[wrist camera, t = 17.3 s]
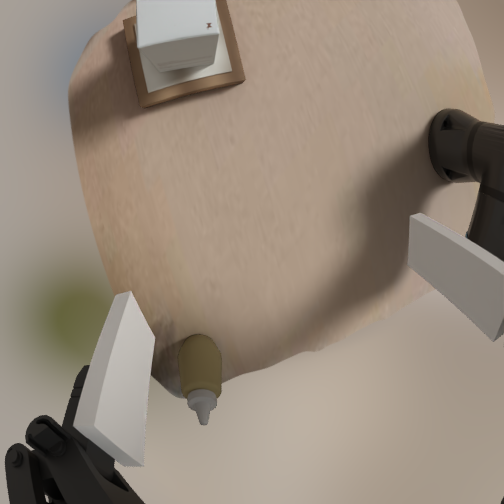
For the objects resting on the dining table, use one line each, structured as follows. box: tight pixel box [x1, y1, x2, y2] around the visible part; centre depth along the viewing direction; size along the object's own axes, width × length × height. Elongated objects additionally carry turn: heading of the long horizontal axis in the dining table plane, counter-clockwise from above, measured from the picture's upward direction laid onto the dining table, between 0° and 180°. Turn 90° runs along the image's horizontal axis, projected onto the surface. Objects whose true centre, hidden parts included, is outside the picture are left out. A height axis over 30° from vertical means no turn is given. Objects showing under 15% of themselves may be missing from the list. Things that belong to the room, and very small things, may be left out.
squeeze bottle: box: [178, 334, 222, 425], centre depth 44 cm, size 8×8×18 cm
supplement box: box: [136, 0, 220, 72], centre depth 22 cm, size 7×7×13 cm
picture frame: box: [123, 0, 246, 108], centre depth 29 cm, size 14×14×3 cm
